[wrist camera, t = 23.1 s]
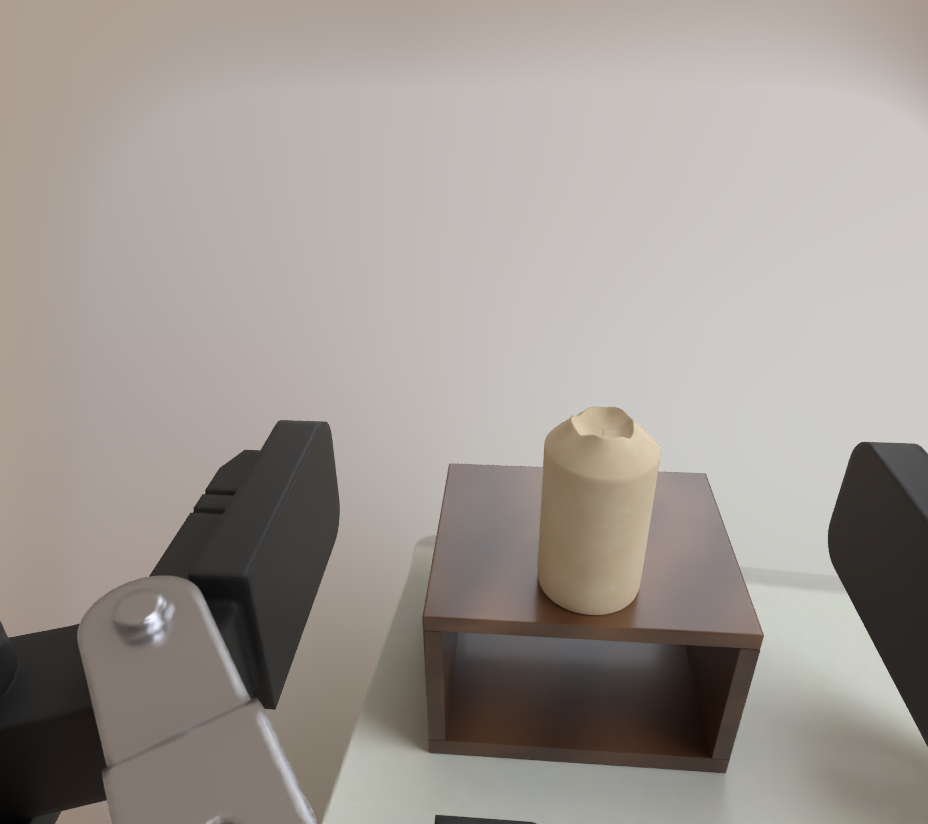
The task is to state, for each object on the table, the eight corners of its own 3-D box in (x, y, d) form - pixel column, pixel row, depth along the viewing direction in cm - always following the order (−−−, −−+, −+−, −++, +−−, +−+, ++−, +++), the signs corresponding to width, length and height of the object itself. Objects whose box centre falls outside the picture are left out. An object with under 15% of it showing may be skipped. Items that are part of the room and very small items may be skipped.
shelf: (429, 752, 43) (422, 617, 37) (451, 584, 55) (449, 462, 49) (726, 773, 41) (764, 635, 36) (682, 596, 53) (706, 472, 48)
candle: (637, 625, 36) (663, 460, 31) (528, 606, 38) (537, 443, 33) (642, 554, 41) (666, 399, 36) (545, 538, 42) (555, 387, 37)
